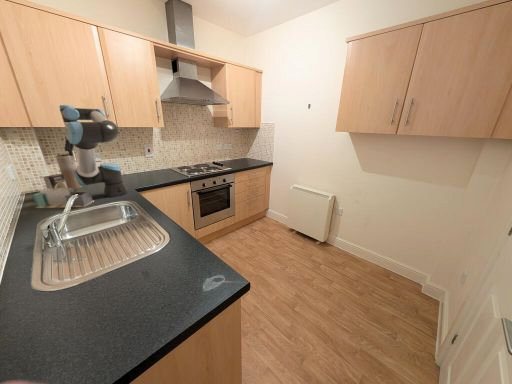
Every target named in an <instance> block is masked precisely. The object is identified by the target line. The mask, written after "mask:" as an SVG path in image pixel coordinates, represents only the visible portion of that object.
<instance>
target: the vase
mask: <svg viewBox="0 0 512 384" xmlns="http://www.w3.org/2000/svg"><path fill="white" fill-rule="evenodd" d="M55 158H56V161H57V165H58V167H59V171H60V173H61V174H63V175H64V178H65V181H66V185H67V188H75V190H79V189H81V188H82V187H83V186H81V185H79V183H78V181H77V179H76V176H75V174H74V170H75V169H77V166H76V162H75V160H71V157H70V155H69V153H68V154H67V153H65V154H64V153H63V154H58V155H57V154H56V155H55Z"/></svg>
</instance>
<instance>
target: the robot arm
mask: <svg viewBox="0 0 512 384" xmlns="http://www.w3.org/2000/svg"><path fill="white" fill-rule="evenodd" d="M58 107H59V112H60V115H61V117H62V120H63V125H64V128H65V132H66V136H65V137H64V138H65V145H64V151H66V152H68V154H69V155H70V157H71V160H74V161H78V166H76V168H77V169H75V170H74V174H75V176H76V179H77V181H78V183H79V185H81V186H82V187H84V186H89V185H91V186H92V185H96V184H100V183H102V184H103V183H104V189H103V195H104V197H107V198H108V197H109V198H111V197H114V198H115V197H119V196H123V195H126V194H128V193H129V191H128V188H127V187H126V185H125V183H124V180H123V176H122V170H121V166H120V165H118V164H116V163H101V164H99V166H97V165H96V164H97V163H96V148H97V147H98V144H102V143H103V144H104V143H110V142H113V141H114V140H115V139H117V137H118V135H119V133H120V132H119V131H120V130H119V127H118V126H117V124H116V123H114V122H113V121H112V120H109V119H107V118H106V114H105V112H104V110H103V109H100V108H99V109H98V108H80V107H79V108H77V107H74V106H73V105H70V104H69V105H67V104H66V105H65V104H60V105H59V106H58ZM74 147H75V148H76V154H77V159H78V160H77V159H76V156H75V151H74Z"/></svg>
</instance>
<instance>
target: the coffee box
mask: <svg viewBox="0 0 512 384" xmlns="http://www.w3.org/2000/svg"><path fill="white" fill-rule="evenodd" d="M43 181H44V184H45V187H46V189H47V188H67V185H66V181H65V178H64V175H63V174H60V173H59V174H58V173H56V174H51V175H47V176H43Z"/></svg>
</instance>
